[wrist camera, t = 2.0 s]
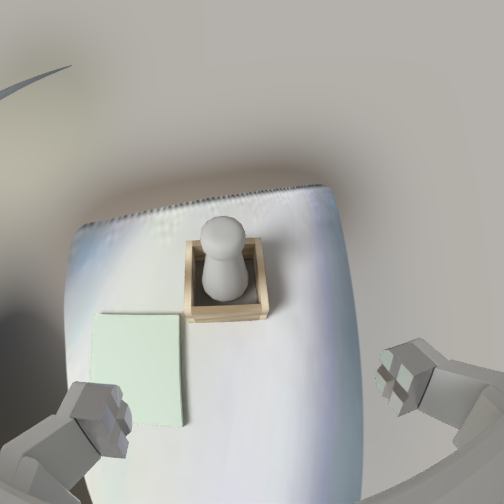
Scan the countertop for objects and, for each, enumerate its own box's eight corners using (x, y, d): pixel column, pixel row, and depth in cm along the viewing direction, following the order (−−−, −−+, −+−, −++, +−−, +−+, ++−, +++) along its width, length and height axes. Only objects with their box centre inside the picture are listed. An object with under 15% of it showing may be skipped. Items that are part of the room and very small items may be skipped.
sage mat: (183, 426, 27) (182, 427, 26) (93, 417, 26) (90, 417, 25) (180, 317, 34) (178, 314, 33) (97, 316, 33) (93, 313, 32)
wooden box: (265, 319, 34) (269, 309, 31) (189, 322, 34) (184, 313, 30) (258, 253, 39) (261, 238, 36) (190, 256, 38) (186, 240, 35)
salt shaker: (254, 299, 36) (264, 247, 25) (212, 313, 34) (201, 267, 23) (238, 261, 38) (240, 199, 27) (198, 274, 37) (184, 215, 26)
